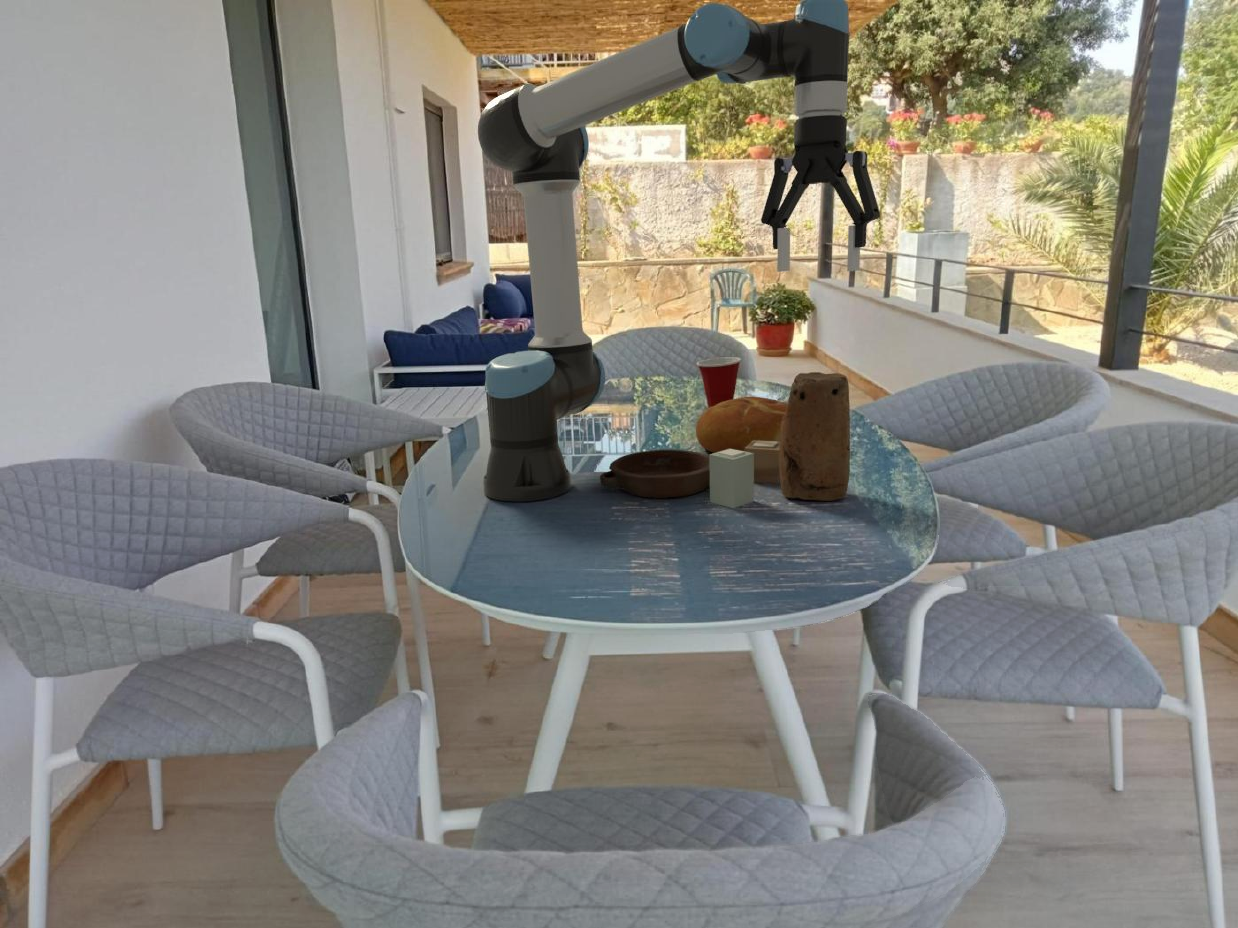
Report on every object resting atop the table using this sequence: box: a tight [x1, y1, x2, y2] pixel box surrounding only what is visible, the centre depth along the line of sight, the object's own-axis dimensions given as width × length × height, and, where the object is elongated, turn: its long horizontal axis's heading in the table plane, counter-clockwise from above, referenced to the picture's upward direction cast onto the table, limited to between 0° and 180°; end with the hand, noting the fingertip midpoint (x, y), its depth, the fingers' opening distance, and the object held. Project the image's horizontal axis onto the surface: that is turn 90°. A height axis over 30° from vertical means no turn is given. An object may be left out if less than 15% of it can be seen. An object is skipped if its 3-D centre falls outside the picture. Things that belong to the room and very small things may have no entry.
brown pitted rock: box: [779, 371, 851, 502], centre depth 140 cm, size 11×8×20 cm
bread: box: [695, 396, 788, 454], centre depth 174 cm, size 23×23×10 cm
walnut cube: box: [744, 440, 780, 484], centre depth 153 cm, size 6×6×6 cm
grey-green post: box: [708, 449, 755, 509], centre depth 141 cm, size 5×5×8 cm
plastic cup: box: [696, 356, 742, 409], centre depth 213 cm, size 11×11×12 cm
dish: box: [599, 448, 710, 499], centre depth 150 cm, size 18×22×5 cm
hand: (817, 271), depth 133 cm, fingers open, 11 cm apart
